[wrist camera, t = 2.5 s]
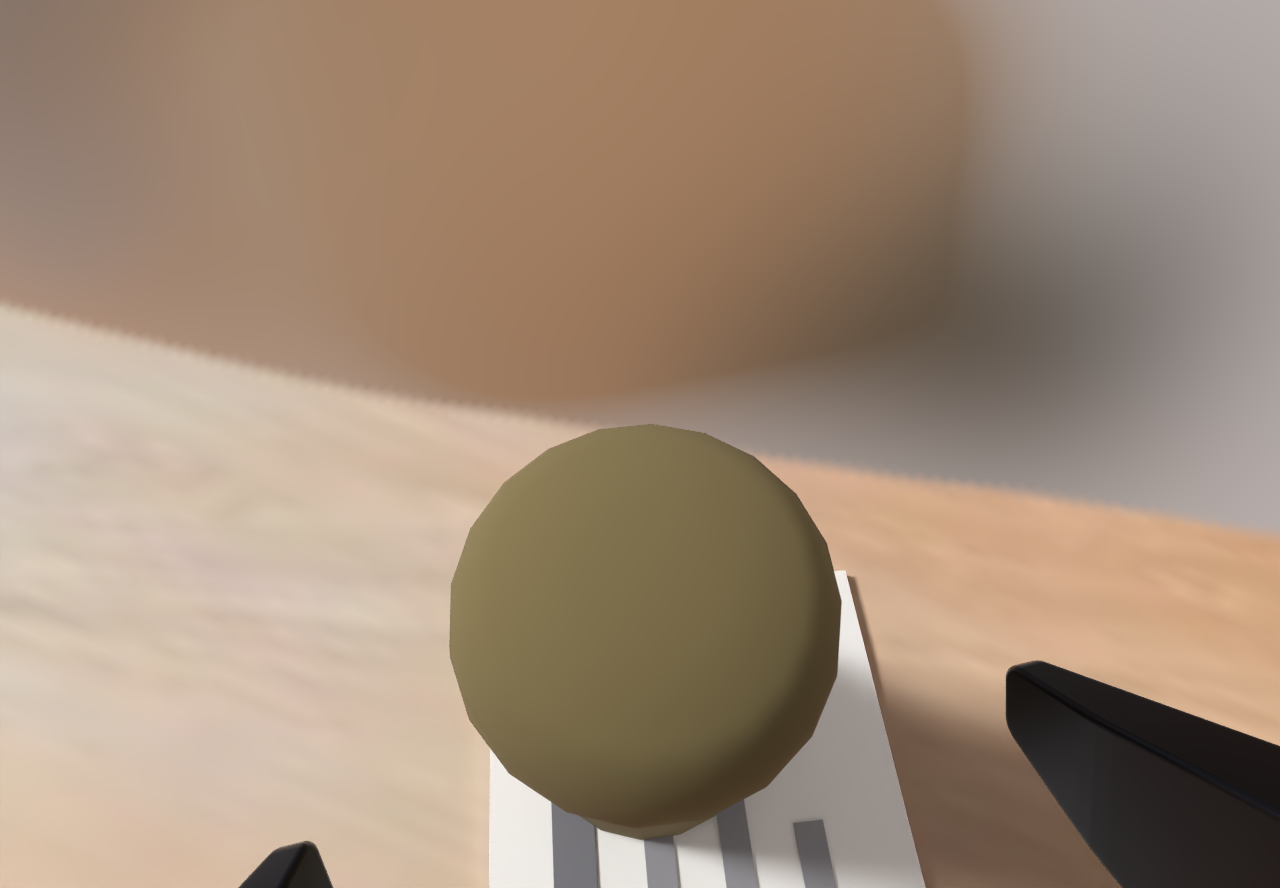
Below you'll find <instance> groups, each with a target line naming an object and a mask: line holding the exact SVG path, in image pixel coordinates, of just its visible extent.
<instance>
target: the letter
mask: <svg viewBox="0 0 1280 888" xmlns="http://www.w3.org/2000/svg"><path fill="white" fill-rule="evenodd" d="M834 573H835V577H836V581H837V585H838V589H839V593H840V596H841V600H842V606H841V624H840V640H839V656H838V672H837V678H836V680H835V682H834V685H833V687H832V690H831V692H830V695H829V697H828V699H827V702H826V704H825V707H824V709H823V712H822V714H821V716H820V719H819V721H818V724H817V726H816V729H815V731H814V733H813V736H812V737H811V738H810V740H809V741H808V742H807V743H806V744H805V745H804V746H803V747H802V748H801V750H800V751H799V752H798V753H797V754H796V755H795V756H794V757H793V758H792V760H791V761H790V762H789V763H788V764H787V765H786V766H785V767H784V768H783V770H782V771H781V772H780V773H779V774H778V775H777V776H776V777H775V779H774V780H773V781H772V782H771V783H770V784H769V785H768V786H767V787H766V788H764V789H762V790H760V791H758V792H757V793H755V794H753V795H751V796H749V797H747V798H745V799H743V800H741V801H740V802H738V803H736V804H734V805H732V806H730V807H728V808H726V809H724V810H723V811H721V812H719V813H718V814H717V815H716V816H714V817H712V818H710V819H709V820H707V821H705V822H703V823H701V824H699V825H697V826H695V827H693V828H692V829H690V830H688V831H686V832H684V833H682V834H680V835H674V836H666V837H658V838H651V839H643V840H639V839H635V838H630V837H626V836H622V835H618V834H614V833H610V832H605V831H601V830H600V829H598V828H597V827H595V826H594V825H592V824H591V823H589V822H588V821H586V820H585V819H583V818H582V817H580V816H579V815H576V814H571V813H567V812H565V811H564V810H562V809H561V808H559V807H558V806H556V805H555V804H553V803H552V802H550V801H549V800H547V799H546V798H544V797H543V796H541V795H540V794H538V793H537V792H535V791H534V790H532V789H531V788H529V787H528V786H526V785H525V784H523V783H522V782H521V781H519V780H518V779H516V778H515V777H513V776H512V775H510V774H509V773H508V772H507V770H506V769H505V768H504V766H503V765H502V764H501V762H500V761H499V759H498V758H497V757H496V755H495V754H494V753H493V751H492V750H491V749H490V830H489V888H926V887H925V883H924V879H923V875H922V872H921V868H920V864H919V860H918V856H917V852H916V848H915V844H914V840H913V836H912V832H911V828H910V824H909V820H908V816H907V812H906V808H905V804H904V800H903V796H902V792H901V789H900V785H899V781H898V777H897V773H896V769H895V765H894V761H893V757H892V753H891V749H890V745H889V741H888V737H887V733H886V729H885V725H884V721H883V717H882V713H881V710H880V706H879V702H878V698H877V694H876V690H875V686H874V682H873V678H872V674H871V670H870V666H869V662H868V658H867V654H866V650H865V646H864V642H863V638H862V634H861V630H860V627H859V623H858V619H857V615H856V611H855V607H854V603H853V599H852V595H851V591H850V587H849V583H848V579H847V575H846V571H845V570H843V571H834Z"/></svg>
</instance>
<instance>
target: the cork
mask: <svg viewBox="0 0 1280 888" xmlns="http://www.w3.org/2000/svg"><path fill="white" fill-rule="evenodd" d="M841 606H842V600H841V596H840V593H839V589H838V585H837V581H836V577H835V573H834V569H833V566H832V562H831V558H830V554H829V550H828V546H827V543H826V541H825V539H824V538H823V536H822V535H821V533H820V531H819V530H818V528H817V527H816V525H815V523H814V522H813V520H812V519H811V517H810V515H809V514H808V512H807V510H806V509H805V507H804V506H803V504H802V502H801V501H800V499H799V498H798V496H797V494H796V493H795V492H794V491H792V490H791V489H790V488H789V487H788V486H787V485H786V484H784V483H783V482H782V481H781V480H780V479H779V478H778V477H777V476H775V475H774V474H773V473H772V472H771V471H770V470H769V469H768V468H766V467H765V466H764V465H763V464H762V463H761V462H760V461H759V460H757V459H756V458H755V457H754V456H752V455H750V454H747V453H745V452H743V451H741V450H739V449H737V448H735V447H733V446H731V445H729V444H727V443H724V442H722V441H720V440H718V439H716V438H714V437H712V436H710V435H707V434H706V433H701V432H695V431H689V430H683V429H677V428H672V427H666V426H660V425H654V424H648V425H638V426H628V427H618V428H608V429H598V430H596V431H593V432H591V433H588V434H586V435H583V436H581V437H578V438H575V439H573V440H570V441H568V442H565V443H563V444H560V445H558V446H555V447H552V448H550V449H548V450H546V451H545V452H544V453H542V454H541V455H540V456H539V457H537V458H536V459H535V460H533V461H532V462H531V463H529V464H528V465H527V466H525V467H524V468H523V469H521V470H520V471H519V472H518V473H516V474H515V475H514V476H512V477H511V478H510V479H508V480H507V481H506V482H504V484H503V485H502V486H501V488H500V489H499V490H498V492H497V493H496V494H495V496H494V497H493V499H492V500H491V501H490V503H489V504H488V505H487V507H486V508H485V509H484V511H483V512H482V514H481V515H480V516H479V518H478V519H477V520H476V522H475V523H474V524H473V526H472V527H471V529H470V531H469V534H468V537H467V540H466V543H465V546H464V549H463V551H462V554H461V557H460V560H459V563H458V566H457V569H456V572H455V574H454V577H453V580H452V583H451V608H450V659H451V662H452V665H453V668H454V672H455V675H456V678H457V681H458V685H459V688H460V691H461V694H462V698H463V701H464V704H465V707H466V711H467V714H468V717H469V720H470V721H471V723H472V724H473V725H474V727H475V728H476V730H477V731H478V732H479V734H480V735H481V736H482V738H483V739H484V740H485V742H486V743H487V744H488V746H489V747H490V749H491V750H492V751H493V753H494V754H495V755H496V757H497V758H498V759H499V761H500V762H501V764H502V765H503V766H504V768H505V769H506V770H507V772H508V773H509V774H510V775H512V776H513V777H515V778H516V779H518V780H519V781H521V782H522V783H523V784H525V785H526V786H528V787H529V788H531V789H532V790H534V791H535V792H537V793H538V794H540V795H541V796H543V797H544V798H546V799H547V800H549V801H550V802H552V803H553V804H555V805H556V806H558V807H559V808H561V809H562V810H564V811H565V812H567V813H571V814H576V815H579V816H580V817H582V818H583V819H585V820H586V821H588V822H589V823H591V824H592V825H594V826H595V827H597V828H598V829H600V830H601V831H605V832H610V833H614V834H618V835H622V836H626V837H630V838H635V839H639V840H643V839H651V838H658V837H666V836H674V835H680V834H682V833H684V832H686V831H688V830H690V829H692V828H693V827H695V826H697V825H699V824H701V823H703V822H705V821H707V820H709V819H710V818H712V817H714V816H716V815H717V814H718V813H719V812H721V811H723V810H724V809H726V808H728V807H730V806H732V805H734V804H736V803H738V802H740V801H741V800H743V799H745V798H747V797H749V796H751V795H753V794H755V793H757V792H758V791H760V790H762V789H764V788H766V787H767V786H768V785H769V784H770V783H771V782H772V781H773V780H774V779H775V777H776V776H777V775H778V774H779V773H780V772H781V771H782V770H783V768H784V767H785V766H786V765H787V764H788V763H789V762H790V761H791V760H792V758H793V757H794V756H795V755H796V754H797V753H798V752H799V751H800V750H801V748H802V747H803V746H804V745H805V744H806V743H807V742H808V741H809V740H810V738H811V737H812V736H813V733H814V731H815V729H816V726H817V724H818V721H819V719H820V716H821V714H822V712H823V709H824V707H825V704H826V702H827V699H828V697H829V695H830V692H831V690H832V687H833V685H834V682H835V680H836V678H837V672H838V656H839V640H840V624H841Z"/></svg>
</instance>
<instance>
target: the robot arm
mask: <svg viewBox="0 0 1280 888" xmlns="http://www.w3.org/2000/svg"><path fill="white" fill-rule="evenodd" d="M1006 720H1007V725H1008V728H1009V730H1010V732H1011V734H1012V736H1013V738H1014V739H1015V741H1016V742H1017V744H1018V745H1019V747H1020V748H1021V749H1022V751H1023V752H1024V754H1025V755H1026V757H1027V758H1028V760H1029V761H1030V763H1031V764H1032V765H1033V767H1034V768H1035V770H1036V771H1037V773H1038V774H1039V776H1040V777H1041V779H1042V780H1043V781H1044V783H1045V784H1046V786H1047V787H1048V789H1049V790H1050V792H1051V793H1052V794H1053V796H1054V797H1055V799H1056V800H1057V802H1058V803H1059V805H1060V806H1061V808H1062V809H1063V810H1064V812H1065V813H1066V815H1067V816H1068V818H1069V819H1070V821H1071V822H1072V824H1073V825H1074V826H1075V828H1076V829H1077V831H1078V832H1079V833H1080V835H1081V836H1082V838H1083V839H1084V840H1085V842H1086V843H1087V844H1088V846H1089V847H1090V848H1091V850H1092V851H1093V852H1094V853H1095V855H1096V856H1097V857H1098V858H1099V860H1100V861H1101V862H1102V864H1103V865H1104V866H1105V867H1106V868H1107V870H1108V871H1109V872H1110V873H1111V875H1112V876H1113V877H1114V878H1115V879H1116V881H1117V882H1118V883H1119V884H1120V885H1121V887H1122V888H1280V746H1278V745H1275V744H1272V743H1270V742H1267V741H1264V740H1261V739H1258V738H1256V737H1253V736H1250V735H1247V734H1245V733H1242V732H1239V731H1236V730H1233V729H1231V728H1228V727H1225V726H1222V725H1219V724H1217V723H1214V722H1211V721H1208V720H1205V719H1203V718H1200V717H1197V716H1194V715H1191V714H1189V713H1186V712H1183V711H1180V710H1177V709H1175V708H1172V707H1169V706H1166V705H1164V704H1161V703H1158V702H1155V701H1152V700H1150V699H1147V698H1144V697H1141V696H1138V695H1136V694H1133V693H1130V692H1127V691H1124V690H1122V689H1119V688H1116V687H1113V686H1110V685H1108V684H1105V683H1102V682H1099V681H1096V680H1094V679H1091V678H1088V677H1085V676H1083V675H1080V674H1077V673H1074V672H1071V671H1069V670H1066V669H1063V668H1060V667H1057V666H1055V665H1052V664H1049V663H1046V662H1043V661H1031V662H1027V663H1023V664H1018V665H1014V666H1012V667H1010V668H1009V669H1008V671H1007V673H1006ZM239 888H333V886H332V884H331V881H330V879H329V876H328V874H327V871H326V868H325V866H324V863H323V861H322V858H321V856H320V853H319V851H318V849H317V847H316V845H315V844H314V843H313V842H310V841H304V842H300V843H296V844H292V845H288V846H284V847H280V848H278V849H276V850H274V851H273V852H272V853H271V854H270V855H269V856H268V857H267V858H266V859H265V860H264V861H263V862H262V863H261V864H260V865H259V866H258V867H257V868H256V869H255V871H254V872H253V873H252V874H251V875H250V876H249V877H248V878H247V879H246V880H245V881H244V882H243V883H242V884H241V886H240V887H239Z"/></svg>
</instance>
